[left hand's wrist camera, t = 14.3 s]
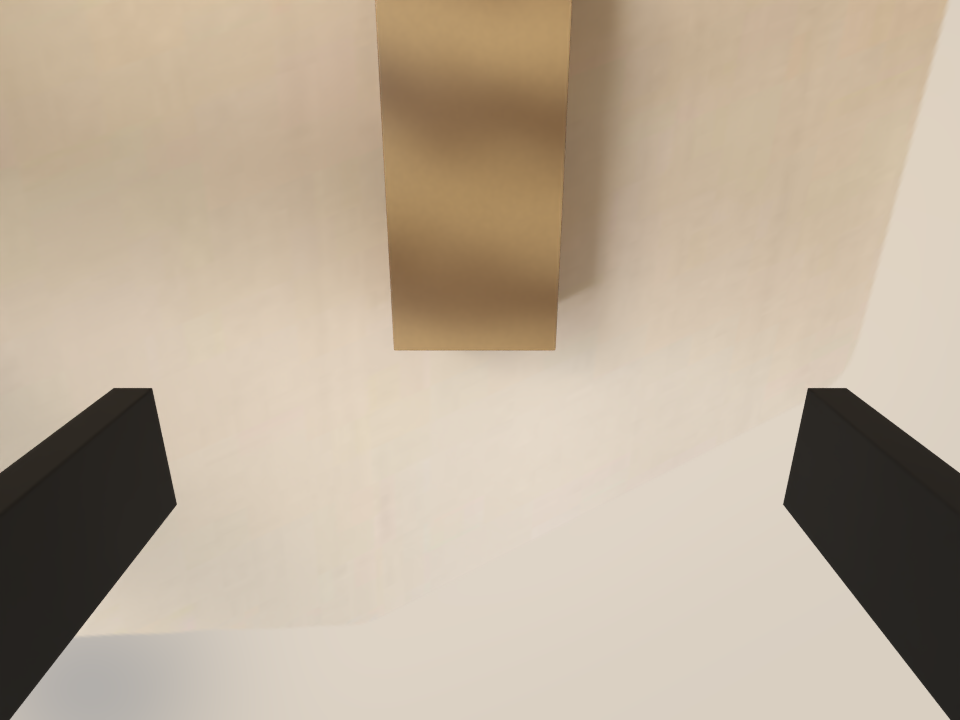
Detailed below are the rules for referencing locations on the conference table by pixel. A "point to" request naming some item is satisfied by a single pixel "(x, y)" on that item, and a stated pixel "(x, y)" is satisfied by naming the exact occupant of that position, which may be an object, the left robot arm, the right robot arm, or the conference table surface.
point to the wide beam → (474, 169)
